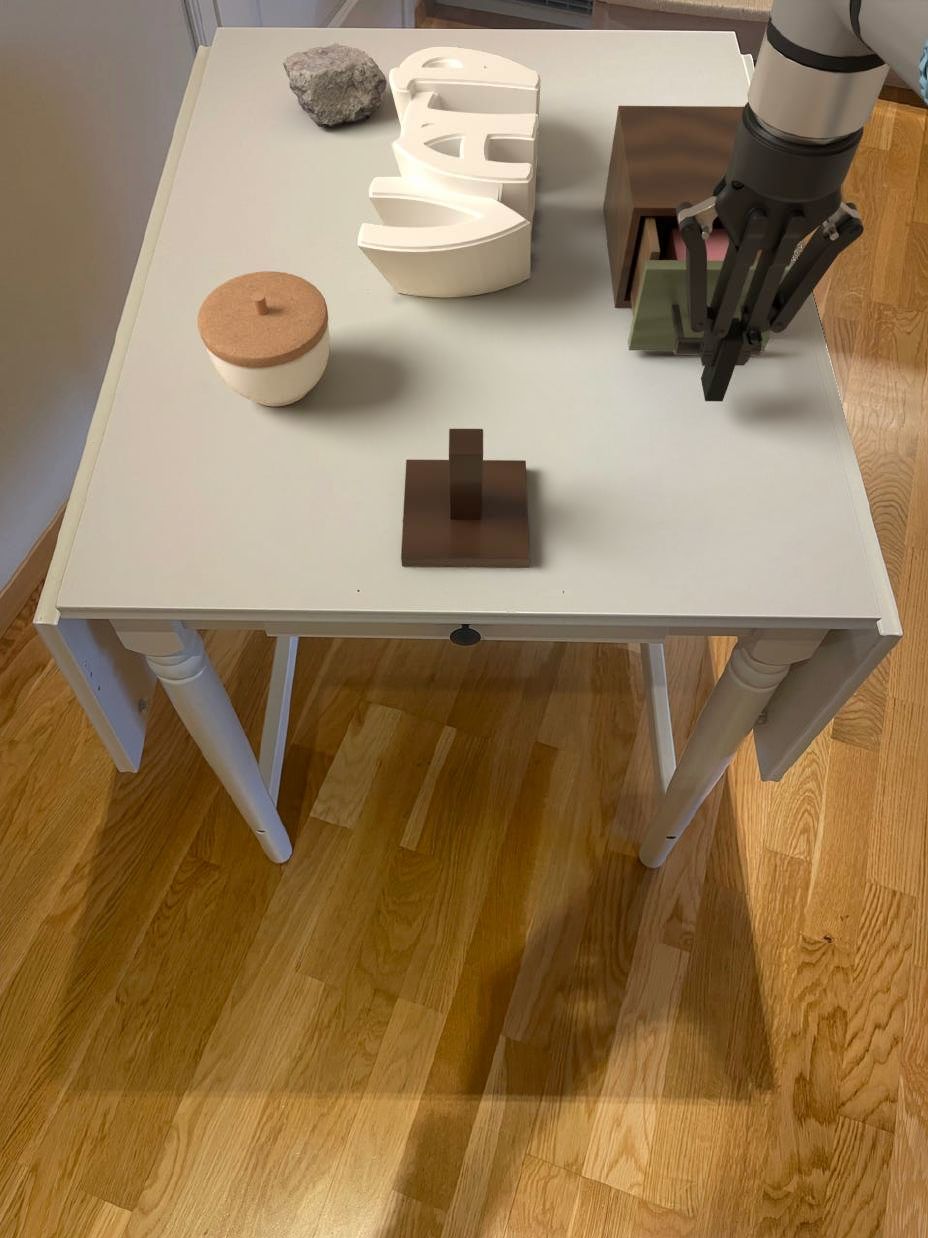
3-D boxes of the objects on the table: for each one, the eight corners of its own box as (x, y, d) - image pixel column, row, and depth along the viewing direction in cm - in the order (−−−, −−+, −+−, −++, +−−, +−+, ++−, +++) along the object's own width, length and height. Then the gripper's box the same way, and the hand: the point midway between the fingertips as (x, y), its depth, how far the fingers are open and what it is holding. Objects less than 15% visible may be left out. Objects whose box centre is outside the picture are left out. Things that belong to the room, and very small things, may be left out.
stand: (528, 567, 69) (536, 495, 61) (401, 566, 69) (394, 494, 61) (525, 469, 74) (532, 391, 67) (406, 468, 74) (400, 390, 67)
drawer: (774, 395, 77) (808, 315, 70) (634, 394, 78) (652, 314, 70) (740, 249, 88) (766, 165, 80) (615, 248, 88) (630, 164, 80)
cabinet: (755, 308, 85) (791, 208, 75) (614, 307, 85) (633, 207, 75) (732, 207, 92) (761, 106, 83) (602, 207, 92) (618, 105, 83)
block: (720, 310, 81) (734, 264, 77) (666, 310, 81) (678, 263, 77) (713, 274, 84) (726, 228, 80) (660, 274, 84) (671, 227, 80)
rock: (391, 143, 102) (383, 72, 104) (389, 83, 94) (380, 8, 96) (293, 149, 101) (287, 77, 103) (282, 88, 93) (276, 12, 95)
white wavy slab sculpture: (520, 339, 82) (528, 240, 73) (348, 322, 83) (334, 223, 74) (552, 127, 100) (561, 26, 91) (410, 115, 101) (404, 14, 92)
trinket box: (353, 406, 78) (341, 322, 70) (235, 440, 76) (208, 357, 68) (318, 328, 83) (303, 241, 75) (206, 358, 81) (178, 271, 73)
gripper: (895, 79, 56) (780, 358, 77) (693, 77, 56) (631, 357, 77) (926, 148, 53) (796, 423, 73) (708, 146, 53) (639, 422, 73)
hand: (711, 389), depth 75 cm, fingers closed
